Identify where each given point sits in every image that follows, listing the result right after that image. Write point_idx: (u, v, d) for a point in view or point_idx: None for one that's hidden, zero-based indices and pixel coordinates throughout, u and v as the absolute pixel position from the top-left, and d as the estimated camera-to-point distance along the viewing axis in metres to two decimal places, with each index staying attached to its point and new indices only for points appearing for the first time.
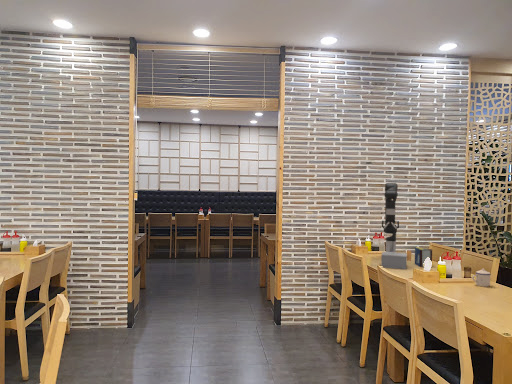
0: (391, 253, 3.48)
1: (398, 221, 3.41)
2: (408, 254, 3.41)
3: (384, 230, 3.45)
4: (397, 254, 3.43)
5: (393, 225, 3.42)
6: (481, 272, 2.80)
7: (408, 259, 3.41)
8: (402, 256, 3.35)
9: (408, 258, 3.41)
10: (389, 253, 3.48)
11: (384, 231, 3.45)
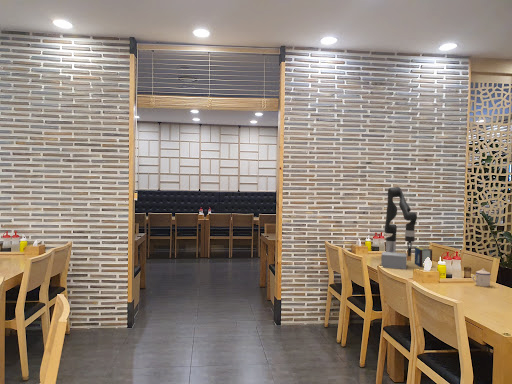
0: (391, 253, 3.48)
1: None
2: None
3: (410, 254, 3.40)
4: (397, 254, 3.43)
5: (411, 247, 3.42)
6: (481, 272, 2.80)
7: (408, 259, 3.41)
8: (402, 256, 3.35)
9: (408, 258, 3.41)
10: (389, 253, 3.48)
11: (410, 255, 3.40)
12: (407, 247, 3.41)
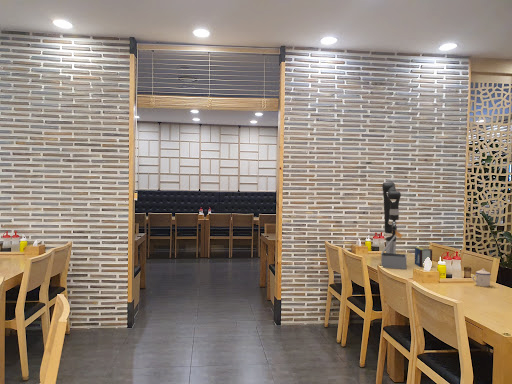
0: (386, 246, 3.49)
1: None
2: (395, 233, 3.45)
3: None
4: (390, 242, 3.45)
5: None
6: (481, 272, 2.80)
7: (400, 236, 3.43)
8: (393, 239, 3.38)
9: (399, 235, 3.44)
10: (385, 247, 3.49)
11: (394, 233, 3.44)
12: (392, 226, 3.46)
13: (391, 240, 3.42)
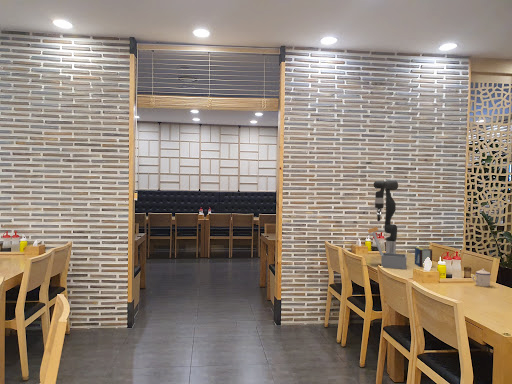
0: (378, 245, 3.52)
1: None
2: (371, 231, 3.52)
3: (379, 219, 3.57)
4: None
5: None
6: (481, 272, 2.80)
7: (376, 229, 3.50)
8: (374, 236, 3.43)
9: (375, 229, 3.50)
10: (378, 247, 3.51)
11: (379, 220, 3.57)
12: None
13: (374, 238, 3.46)
